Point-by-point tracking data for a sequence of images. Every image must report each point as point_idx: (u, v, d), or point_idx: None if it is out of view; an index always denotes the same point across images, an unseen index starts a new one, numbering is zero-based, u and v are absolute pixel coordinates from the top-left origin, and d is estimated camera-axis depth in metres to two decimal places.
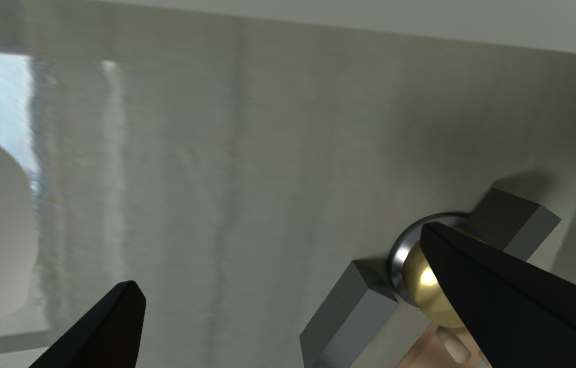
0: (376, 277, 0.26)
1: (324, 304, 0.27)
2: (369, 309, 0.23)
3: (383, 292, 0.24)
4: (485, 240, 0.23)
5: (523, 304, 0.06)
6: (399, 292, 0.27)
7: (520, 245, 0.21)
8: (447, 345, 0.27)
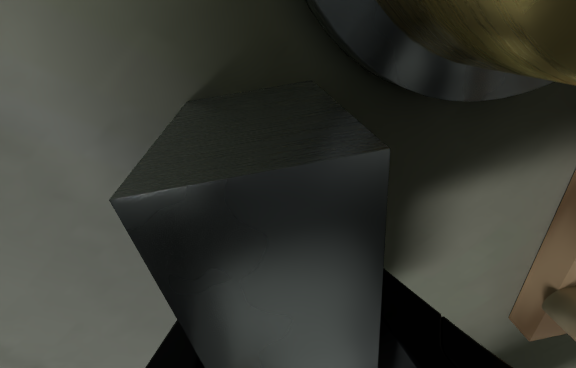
0: (283, 100, 0.06)
1: None
2: (251, 280, 0.04)
3: (271, 148, 0.04)
4: None
5: (387, 333, 0.05)
6: (423, 87, 0.06)
7: None
8: None
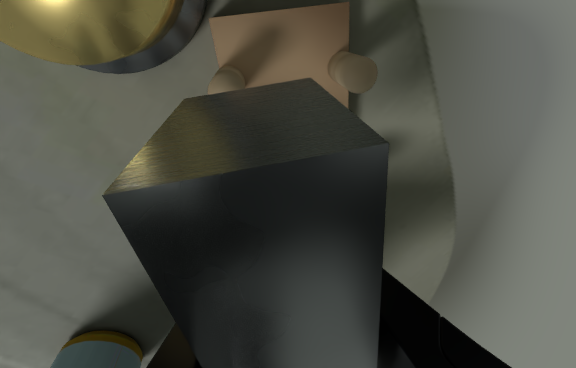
0: (281, 97, 0.06)
1: None
2: (248, 278, 0.04)
3: (268, 143, 0.04)
4: None
5: (386, 333, 0.05)
6: (86, 65, 0.14)
7: None
8: None
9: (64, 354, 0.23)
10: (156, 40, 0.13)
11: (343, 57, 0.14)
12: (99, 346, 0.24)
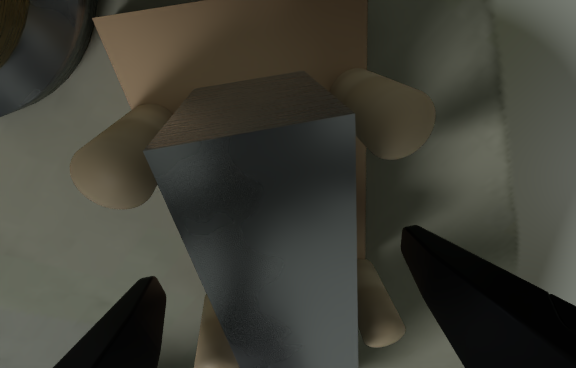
0: (277, 85, 0.07)
1: None
2: (249, 224, 0.05)
3: (265, 116, 0.05)
4: None
5: (493, 310, 0.06)
6: None
7: None
8: None
9: None
10: None
11: (360, 84, 0.07)
12: None
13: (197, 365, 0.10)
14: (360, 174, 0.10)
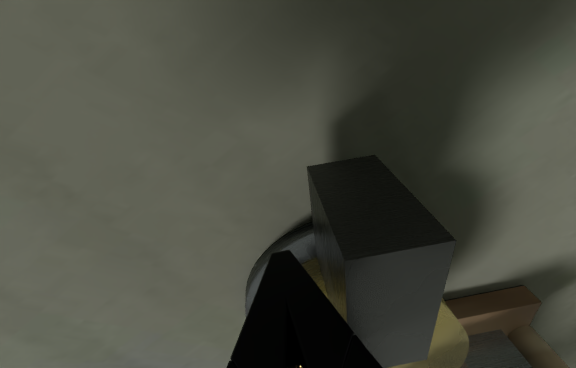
0: (506, 358, 0.15)
1: None
2: None
3: None
4: None
5: None
6: None
7: (383, 338, 0.07)
8: None
9: None
10: None
11: (540, 355, 0.16)
12: None
13: None
14: None
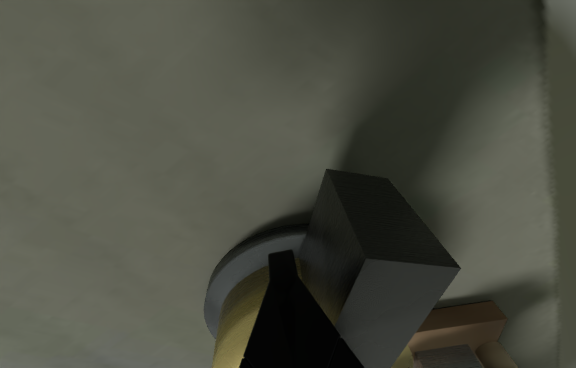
0: None
1: None
2: None
3: None
4: None
5: None
6: None
7: (359, 345, 0.08)
8: None
9: None
10: None
11: None
12: None
13: None
14: None
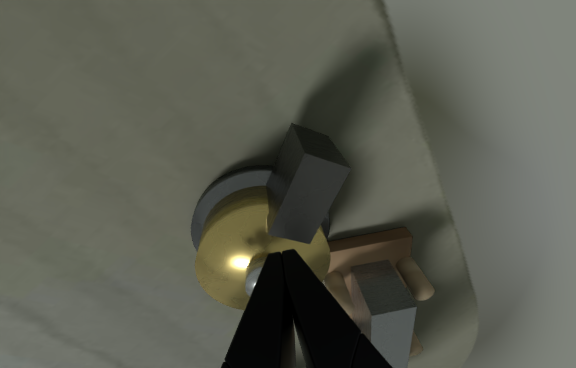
0: (385, 275, 0.21)
1: (354, 312, 0.25)
2: (388, 327, 0.20)
3: (394, 302, 0.19)
4: (269, 207, 0.15)
5: (308, 349, 0.05)
6: None
7: (297, 215, 0.14)
8: None
9: None
10: None
11: (410, 274, 0.22)
12: None
13: None
14: None
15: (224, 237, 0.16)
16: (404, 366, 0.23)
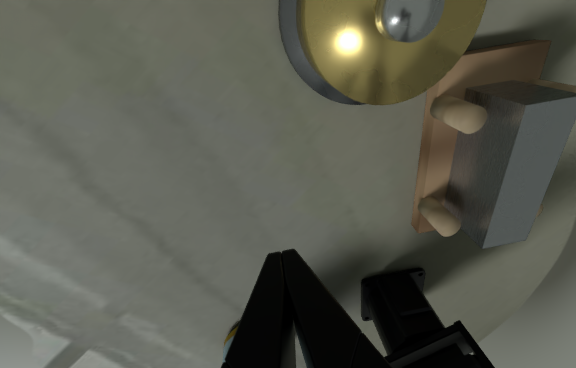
0: (519, 86, 0.17)
1: (457, 163, 0.20)
2: (538, 132, 0.15)
3: (549, 96, 0.15)
4: None
5: (307, 349, 0.05)
6: (337, 99, 0.17)
7: None
8: (447, 121, 0.17)
9: None
10: None
11: (551, 86, 0.17)
12: None
13: (444, 223, 0.20)
14: None
15: None
16: (532, 216, 0.18)
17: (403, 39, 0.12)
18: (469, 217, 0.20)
